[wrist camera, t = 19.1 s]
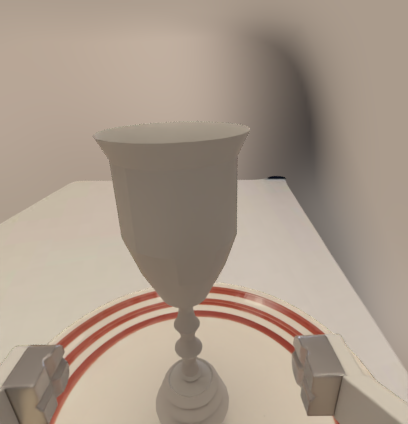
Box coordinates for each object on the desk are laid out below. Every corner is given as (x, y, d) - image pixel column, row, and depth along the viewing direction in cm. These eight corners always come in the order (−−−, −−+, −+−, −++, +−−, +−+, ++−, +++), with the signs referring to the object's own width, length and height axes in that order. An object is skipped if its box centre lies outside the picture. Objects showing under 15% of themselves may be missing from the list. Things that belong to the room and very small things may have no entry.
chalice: (262, 435, 18) (284, 134, 11) (151, 481, 16) (89, 150, 9) (219, 344, 24) (215, 119, 17) (136, 368, 22) (94, 126, 15)
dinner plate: (324, 303, 33) (328, 279, 32) (656, 989, 8) (740, 1006, 7) (91, 300, 35) (86, 277, 33) (-251, 855, 10) (-325, 848, 8)
